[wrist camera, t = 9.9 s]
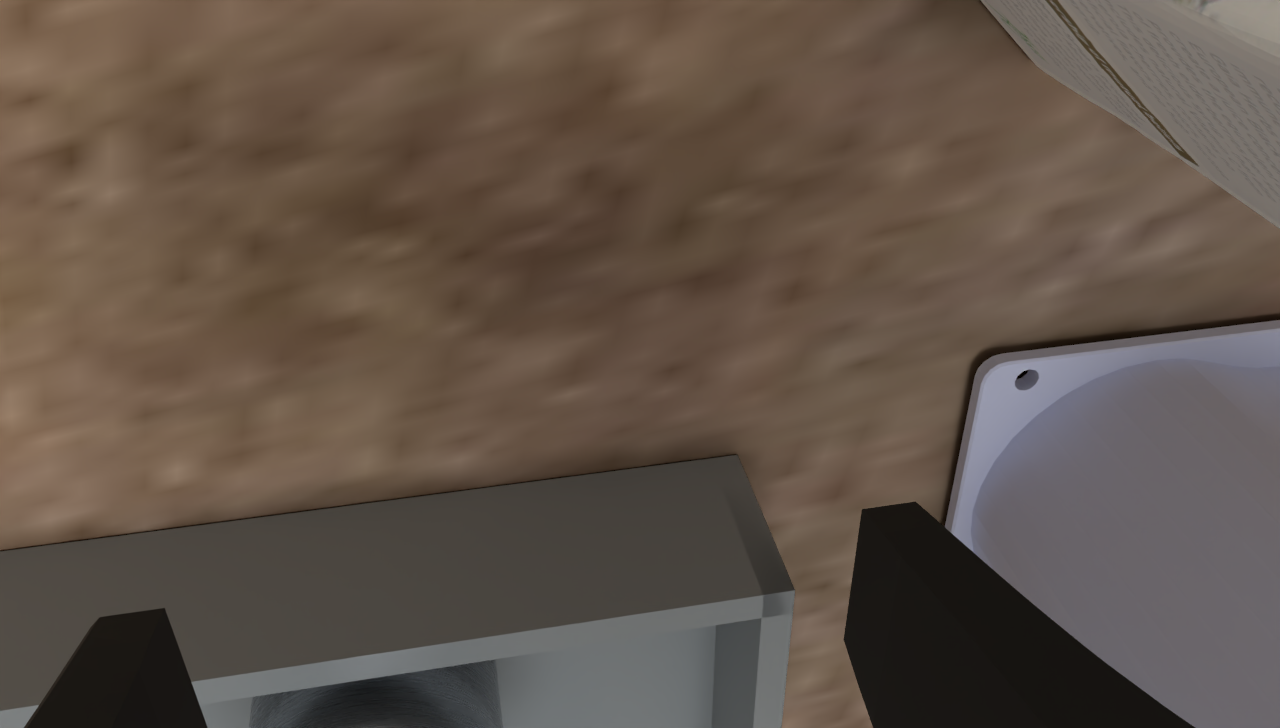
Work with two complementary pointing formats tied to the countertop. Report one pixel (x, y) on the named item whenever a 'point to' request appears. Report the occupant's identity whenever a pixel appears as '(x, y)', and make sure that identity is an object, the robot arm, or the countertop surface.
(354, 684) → the metal can
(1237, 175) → the syrup box
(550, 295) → the countertop surface
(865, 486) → the countertop surface
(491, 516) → the tote
